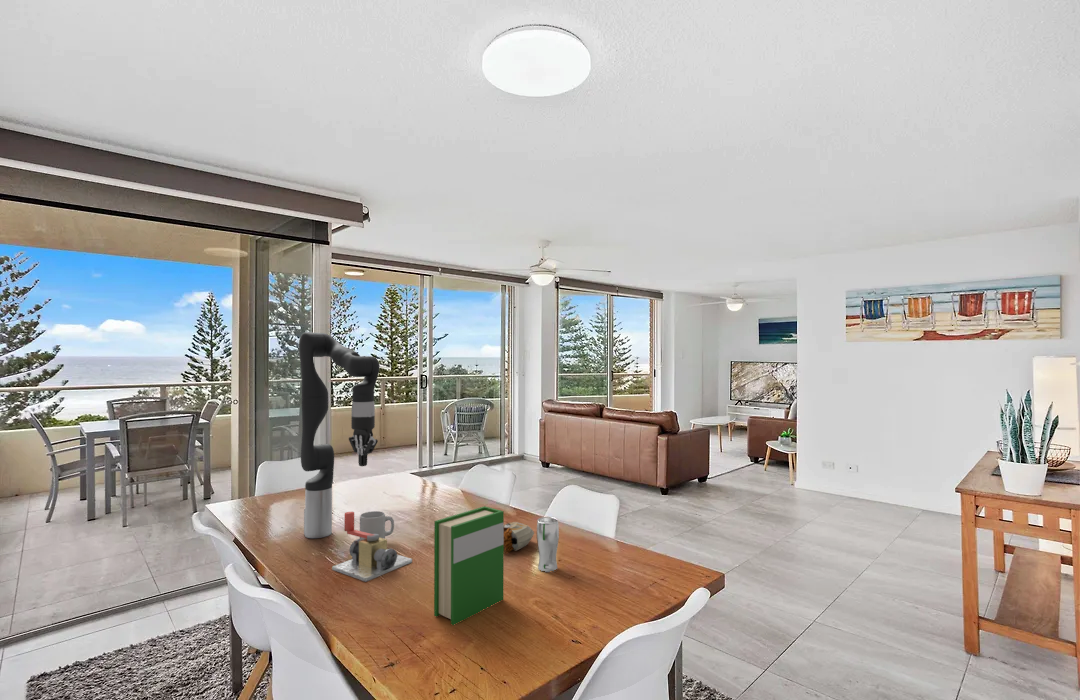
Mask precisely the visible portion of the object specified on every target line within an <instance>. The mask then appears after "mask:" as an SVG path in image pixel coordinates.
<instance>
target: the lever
mask: <svg viewBox="0 0 1080 700" xmlns="http://www.w3.org/2000/svg"><path fill="white" fill-rule="evenodd" d="M343 526H344V529H343V530H344V532H346V534H347V535H349V536H350V535H351V536H355V537H359V538H360V537H362V538H366V539H367V541H377V540H379V534H370V533H366V532H362V531H360V530H357V529H355V512H354V511H346V512H344V525H343Z"/></svg>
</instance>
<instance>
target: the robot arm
mask: <svg viewBox="0 0 1080 700" xmlns="http://www.w3.org/2000/svg"><path fill="white" fill-rule="evenodd" d="M298 352H299V353H298V354H299V360H300V371H301V372H300V373H301V418H302V419H301V420H302V421H301V422H302V423H301V424H302V425H301V426H302V428H301V431H302V432H301V445H300V464H301V465H300V466H301V468H302V470H303V471H304V472H315V471H318V473H317V474H316V475H314V476H312V477H311V478H309V479H307V480H306V482H305V486H304V488H305V491H304V493H305V494H304V496H305V498H304V499H305V501H304V502H305V503H304V505H305V506H304V510H303V535H304V537H305V538H307V539H321V538H326V537H329V536H331V534H333V532H332V531H333V528H332V527H333V481H334V469H335V450H334V448H333V446H332V445H331V444H330V443H322V444H315V439H316V438H315V436H316V433H317V431H318V429H319V427H320V426H321V424H322V422H323V420H324V418H326V415H327V413H328V410H329V391H328V388H327V386H326V384H325V383H324V381H323V380H322V378H321V377H320V375H319V373H317V370H316V366H315V361H314V360H315V358H324V357H325V358H326V357H328V358H329V357H330V358H331V360H332V362H333V363H334V364H335V365H337V366H338V367H340V368H342V369H344V371H345V372H346V373H347V374H348V375H349V376H351V377H354V378H363V380H362V382H361V383H357V384H355V385H353V387H352V393H351V394H352V397H351V398H352V400H351V402H352V404H351V418H350V419H351V420H350V421H351V423H350V424H351V425H350V426H351V430H353V432H352V436H349V437H348V441H349V443H350V446H351V448H352V450H353V452H354V453H356V454H357V455H358V466H359V467H366V466H367V465H368V455H369V454H372V452H373V451H374V449H375V447H377V444H378V441H379V440H378V439H377V438H376V439H375V438H374V437H373V436H374V434H373V429H375V426H376V425H375V423H376V421H375V420H376V413H375V412H376V409H375V408H376V406H375V387H376V384H377V380H378V377H379V373H380V362H379V360H378V359H377V358H376V357H375V356H371V355H370V356H369V355H368V356H367V355H363V356H361V355H360V353H358V352H356V351H355V350H353V349H351V348H348V347H346V346H344V345H342V344H341V343H340V342H338V341H337V340H336V339H335V338H334V337H332V336H331V335H330V334H328V333H325V332H311V331H310V332H309V331H306V332H302V334H301V335H300V337H299V341H298Z"/></svg>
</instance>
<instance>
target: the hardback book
mask: <svg viewBox="0 0 1080 700" xmlns="http://www.w3.org/2000/svg"><path fill="white" fill-rule="evenodd" d="M504 517H505V516H504V510H500V509H497V508H492V507H489V506H486V505H484V506H482V507H478V508H477V507H476V508H474V509H471V510H467V511H463V512H460V513H456V514H455V515H451V516H447V517H444V518H443V517H442V518H441V519H437V520H434V529H433V530H434V534H433V535H434V536H433V537H434V541H433V542H434V546H433V547H434V548H433V549H434V551H433V552H434V553H433V555H434V559H433V560H434V562H433V563H434V564H433V565H434V566H433V568H434V569H433V571H434V572H433V574H434V575H433V576H434V577H433V579H434V580H433V582H434V583H433V585H434V586H433V587H434V588H433V589H434V591H433V592H434V593H433V596H434V597H433V598H434V599H433V603H434V604H433V615H434V617H435V616H436V617H435V618H438V617H439V615H440V616H443V617H444V618H448V619H450V625H451V624H452V626H455V625H457V624H459V623H461V622H463V621H465V620H467V619H469V618H471V617H472V615H473V616H474V614H475V615H476V613H477V614H479V613H481V612H483V611H484V610H483V609H485V610H487V609H488V608H487V607H489V608H491V607H492V606H491V605H493V604H495V603H497V602H499V601H501V600H503V601H504V559H505V558H504V557H505V552H504V551H505V550H504V549H505V547H504V525H505V524H504V523H505V521H504V519H505V518H504ZM501 602H502V601H501ZM499 603H500V602H499ZM497 604H498V603H497ZM495 605H496V604H495ZM490 606H491V607H490ZM493 606H494V605H493ZM486 608H487V609H486ZM482 610H483V611H482ZM480 611H481V612H480ZM478 612H479V613H478ZM437 616H438V617H437ZM470 616H471V617H470ZM468 617H469V618H468ZM466 618H467V619H466ZM464 619H465V620H464ZM462 620H463V621H462ZM460 621H461V622H460ZM458 622H459V623H458ZM456 623H457V624H456ZM454 624H455V625H454Z"/></svg>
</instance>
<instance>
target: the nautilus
mask: <svg viewBox="0 0 1080 700" xmlns="http://www.w3.org/2000/svg"><path fill="white" fill-rule="evenodd" d="M534 535H535V532H534V530H533V529H532V528H531V526H529V525H528V524H525V523H522V522H518V521H513V522H508V523H505V524H504V557H506V556H507V554H508V553H510V552H512V551H515V552H517V551H518V550H520V549H523V548H524V547H526V546H527V545H528V544H529V543H530V541H531V540H532V539H533V536H534Z"/></svg>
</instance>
